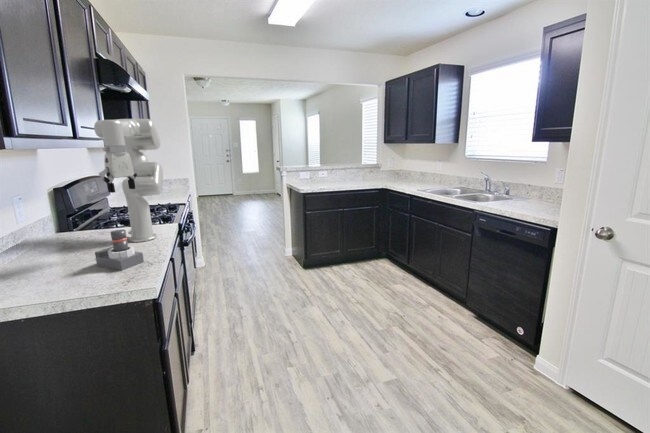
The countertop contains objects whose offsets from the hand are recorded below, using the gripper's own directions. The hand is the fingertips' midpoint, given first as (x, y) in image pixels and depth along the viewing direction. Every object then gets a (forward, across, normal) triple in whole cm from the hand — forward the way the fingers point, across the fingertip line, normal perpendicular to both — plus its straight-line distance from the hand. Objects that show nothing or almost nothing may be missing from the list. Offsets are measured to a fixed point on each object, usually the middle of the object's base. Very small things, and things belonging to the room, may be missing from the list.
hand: (122, 190), depth 146 cm
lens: (+24, -12, -10) cm, 29 cm away
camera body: (+28, -12, -8) cm, 32 cm away
